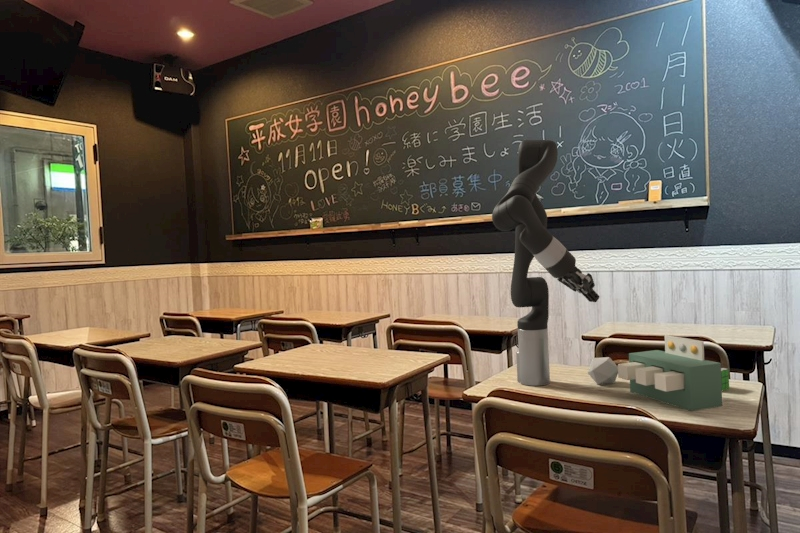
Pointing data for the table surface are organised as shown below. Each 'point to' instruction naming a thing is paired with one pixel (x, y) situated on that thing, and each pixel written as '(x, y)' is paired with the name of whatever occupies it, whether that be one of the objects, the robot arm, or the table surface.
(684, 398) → the console
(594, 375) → the die
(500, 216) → the robot arm
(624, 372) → the button left
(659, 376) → the button right
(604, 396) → the table surface
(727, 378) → the puzzle toy
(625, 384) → the table surface
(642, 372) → the button mid
